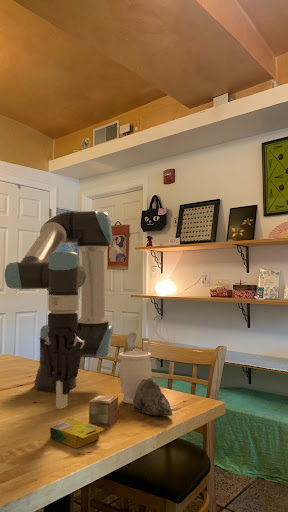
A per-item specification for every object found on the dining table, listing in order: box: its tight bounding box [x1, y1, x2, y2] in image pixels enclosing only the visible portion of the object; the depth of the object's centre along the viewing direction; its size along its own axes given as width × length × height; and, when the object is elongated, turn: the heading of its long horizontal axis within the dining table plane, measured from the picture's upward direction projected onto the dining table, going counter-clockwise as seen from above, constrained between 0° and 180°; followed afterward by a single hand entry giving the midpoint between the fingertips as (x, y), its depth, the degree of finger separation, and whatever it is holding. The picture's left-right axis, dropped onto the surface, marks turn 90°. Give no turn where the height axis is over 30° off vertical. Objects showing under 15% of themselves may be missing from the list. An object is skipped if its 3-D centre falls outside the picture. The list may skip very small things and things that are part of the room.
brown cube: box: [88, 394, 119, 427], centre depth 106 cm, size 6×6×6 cm
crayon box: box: [49, 418, 105, 449], centre depth 93 cm, size 7×3×12 cm
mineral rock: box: [132, 377, 173, 417], centre depth 112 cm, size 13×11×10 cm
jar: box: [118, 350, 152, 405], centre depth 126 cm, size 11×10×15 cm
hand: (61, 406), depth 98 cm, fingers closed
